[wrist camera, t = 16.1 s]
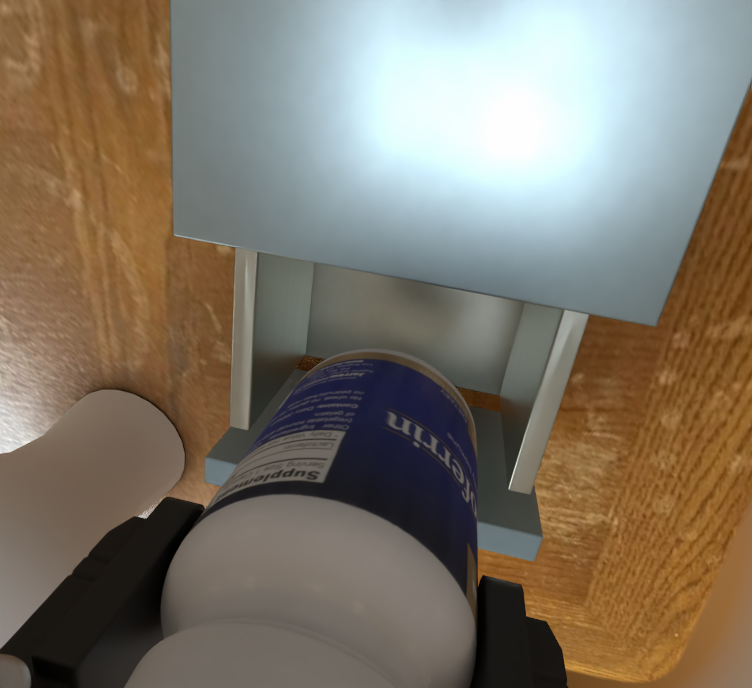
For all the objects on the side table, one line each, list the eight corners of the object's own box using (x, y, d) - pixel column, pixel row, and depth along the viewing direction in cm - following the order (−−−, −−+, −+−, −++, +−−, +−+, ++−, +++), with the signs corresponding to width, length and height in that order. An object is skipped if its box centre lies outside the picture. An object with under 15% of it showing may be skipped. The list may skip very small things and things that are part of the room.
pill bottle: (509, 474, 15) (558, 972, 6) (347, 526, 17) (203, 969, 8) (421, 307, 14) (316, 640, 5) (254, 385, 16) (-49, 731, 7)
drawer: (491, 522, 28) (497, 667, 21) (272, 471, 30) (202, 589, 22) (618, 98, 20) (709, 78, 12) (304, 52, 21) (209, 8, 14)
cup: (79, 332, 30) (-262, 505, 16) (236, 434, 30) (41, 683, 17) (30, 453, 34) (-271, 671, 20) (168, 539, 35) (-31, 806, 21)
